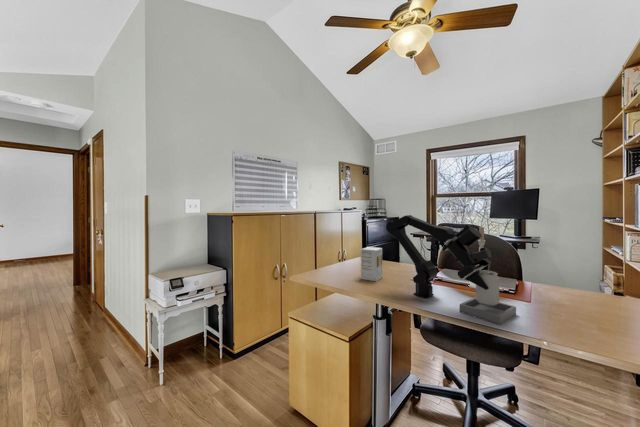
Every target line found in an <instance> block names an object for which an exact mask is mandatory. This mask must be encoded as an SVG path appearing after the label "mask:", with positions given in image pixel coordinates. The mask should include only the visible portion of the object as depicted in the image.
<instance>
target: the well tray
mask: <svg viewBox="0 0 640 427" xmlns="http://www.w3.org/2000/svg"><path fill="white" fill-rule="evenodd" d="M459 312H460V313H462V312H463V313H462V314H465V315H468V314H469V315H468V316H472V317H474V316H475V317H474V318H478V319H480V320H482V321H483V320H484V321H486V322H489V323H492V324H495V325H498V326H501V325H503V324H505V323H506V322H507V321H509V320H511V319H512V318H513V317H515V316H516V315H517V306H515V305H511V304H507V303H503V302H501V301H499V303H498V304H497V305H495V306H486V305H482V304H480V303H478V301H477V300H476V296H474V297H472V298H470V299H468V300H466V301H463V302H461V303H459Z"/></svg>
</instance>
